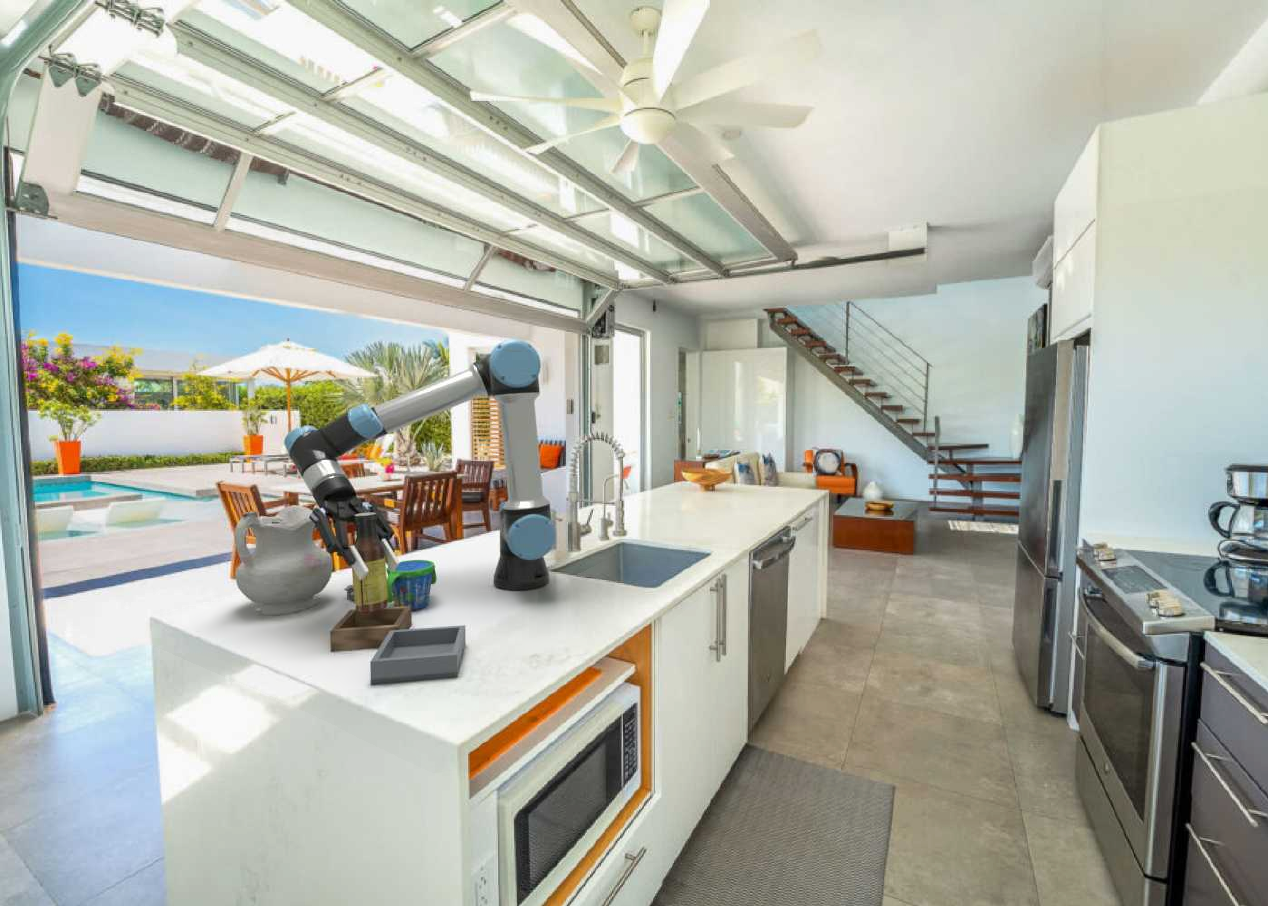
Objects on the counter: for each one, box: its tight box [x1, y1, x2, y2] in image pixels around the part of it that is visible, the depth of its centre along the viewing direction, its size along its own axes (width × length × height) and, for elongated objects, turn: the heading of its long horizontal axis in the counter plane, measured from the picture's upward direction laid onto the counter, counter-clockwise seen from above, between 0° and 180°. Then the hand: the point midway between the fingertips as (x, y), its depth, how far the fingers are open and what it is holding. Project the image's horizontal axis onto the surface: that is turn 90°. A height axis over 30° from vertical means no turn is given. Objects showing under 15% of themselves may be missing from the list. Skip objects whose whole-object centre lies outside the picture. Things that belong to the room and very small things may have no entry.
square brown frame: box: [329, 606, 413, 652], centre depth 111 cm, size 12×12×4 cm
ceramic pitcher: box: [233, 503, 334, 617], centre depth 127 cm, size 22×20×25 cm
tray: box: [369, 624, 467, 686], centre depth 99 cm, size 14×14×4 cm
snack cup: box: [386, 559, 438, 612], centre depth 129 cm, size 16×10×10 cm
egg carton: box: [343, 584, 392, 601], centre depth 138 cm, size 10×7×4 cm
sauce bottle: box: [351, 512, 388, 613], centre depth 110 cm, size 6×6×20 cm
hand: (380, 571), depth 108 cm, fingers closed on sauce bottle, 6 cm apart
